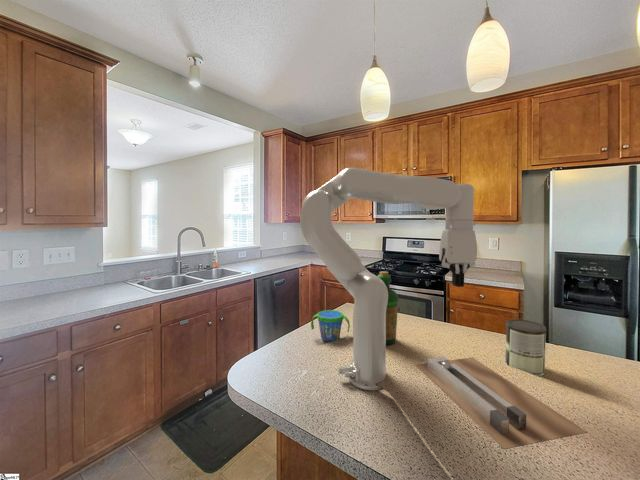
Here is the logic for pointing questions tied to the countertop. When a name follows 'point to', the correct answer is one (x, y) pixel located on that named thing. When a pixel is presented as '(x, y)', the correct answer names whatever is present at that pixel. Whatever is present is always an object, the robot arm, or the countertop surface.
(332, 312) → the snack cup
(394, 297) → the bottle
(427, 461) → the countertop surface
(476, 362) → the walnut board
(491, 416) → the tongs fixed arm
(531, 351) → the coffee can
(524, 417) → the tongs arm
